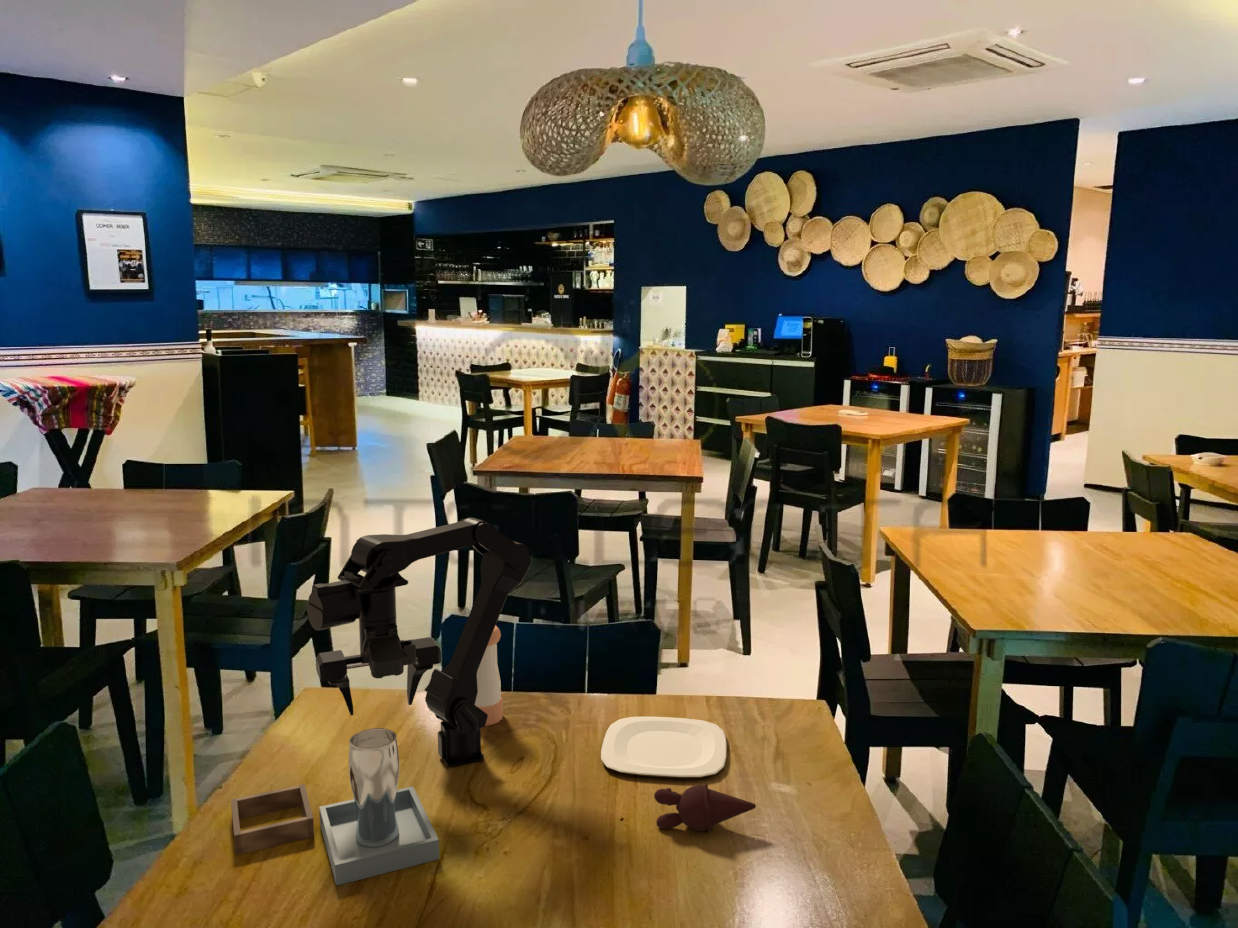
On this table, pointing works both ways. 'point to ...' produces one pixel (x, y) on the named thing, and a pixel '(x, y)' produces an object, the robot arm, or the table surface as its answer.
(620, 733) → the plate
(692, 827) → the icecream
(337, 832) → the tray
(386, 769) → the silver metal cup
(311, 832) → the rectangular frame
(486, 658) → the salt shaker
